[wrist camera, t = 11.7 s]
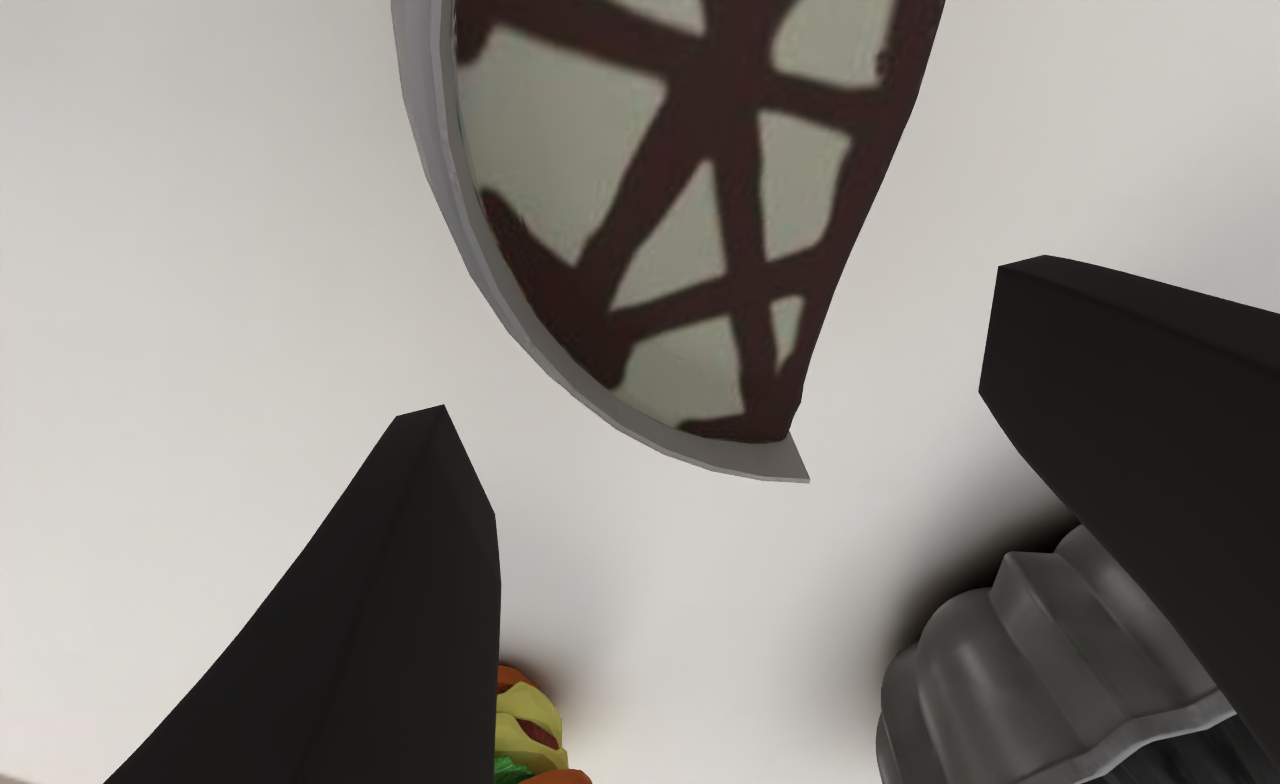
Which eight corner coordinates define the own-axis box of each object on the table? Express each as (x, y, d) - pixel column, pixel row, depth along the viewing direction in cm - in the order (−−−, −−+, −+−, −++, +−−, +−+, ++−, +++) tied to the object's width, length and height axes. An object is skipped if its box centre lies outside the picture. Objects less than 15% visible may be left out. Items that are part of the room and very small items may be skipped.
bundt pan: (850, 796, 44) (929, 997, 36) (774, 557, 28) (886, 823, 20) (1254, 664, 42) (1429, 843, 34) (1418, 332, 26) (1816, 521, 18)
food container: (429, -506, 11) (221, -1687, 3) (792, -398, 12) (1373, -979, 4) (445, 235, 18) (401, 516, 10) (673, 250, 19) (800, 507, 11)
